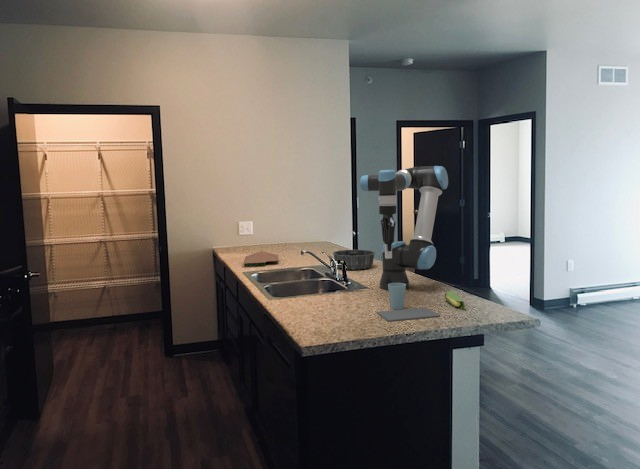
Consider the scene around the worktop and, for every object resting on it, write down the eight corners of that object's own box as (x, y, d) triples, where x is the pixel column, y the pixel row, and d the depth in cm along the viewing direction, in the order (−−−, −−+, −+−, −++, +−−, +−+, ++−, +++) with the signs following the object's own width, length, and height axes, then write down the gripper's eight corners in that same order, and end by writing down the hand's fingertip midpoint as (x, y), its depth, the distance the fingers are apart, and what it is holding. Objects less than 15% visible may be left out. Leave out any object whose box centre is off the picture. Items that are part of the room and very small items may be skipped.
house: (278, 259, 384) (278, 247, 383) (278, 266, 351) (278, 254, 350) (246, 260, 382) (245, 249, 381) (243, 268, 349) (242, 255, 348)
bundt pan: (375, 264, 347) (375, 248, 346) (375, 271, 321) (375, 255, 320) (334, 264, 349) (334, 249, 348) (331, 272, 323) (331, 255, 322)
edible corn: (455, 290, 243) (445, 288, 243) (468, 302, 224) (458, 299, 223) (451, 301, 244) (442, 299, 244) (465, 314, 224) (454, 311, 224)
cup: (388, 310, 228) (387, 286, 227) (388, 306, 236) (387, 282, 235) (406, 310, 227) (406, 286, 226) (405, 306, 235) (405, 282, 234)
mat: (376, 313, 224) (376, 311, 224) (425, 308, 229) (425, 307, 229) (388, 321, 211) (388, 320, 211) (440, 316, 216) (440, 315, 215)
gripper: (374, 204, 242) (375, 256, 245) (384, 206, 229) (385, 260, 232) (390, 204, 244) (391, 255, 246) (401, 205, 231) (401, 259, 234)
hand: (388, 258), depth 239 cm, fingers closed
